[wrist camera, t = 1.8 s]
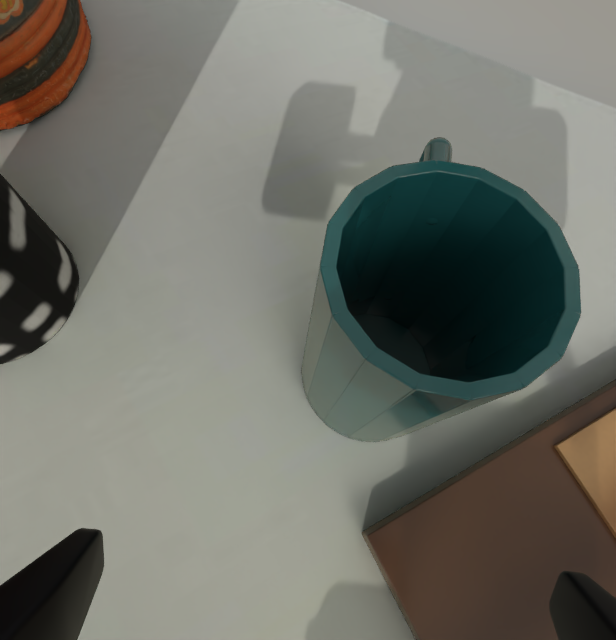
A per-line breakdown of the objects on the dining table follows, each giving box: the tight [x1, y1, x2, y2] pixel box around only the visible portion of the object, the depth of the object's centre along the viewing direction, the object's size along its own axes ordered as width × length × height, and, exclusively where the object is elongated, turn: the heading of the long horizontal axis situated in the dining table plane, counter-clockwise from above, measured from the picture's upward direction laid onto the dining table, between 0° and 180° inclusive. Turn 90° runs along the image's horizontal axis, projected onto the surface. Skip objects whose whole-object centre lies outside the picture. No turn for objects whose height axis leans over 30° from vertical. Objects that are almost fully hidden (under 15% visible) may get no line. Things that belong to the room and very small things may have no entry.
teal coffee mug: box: [301, 137, 581, 442], centre depth 19 cm, size 10×7×12 cm
